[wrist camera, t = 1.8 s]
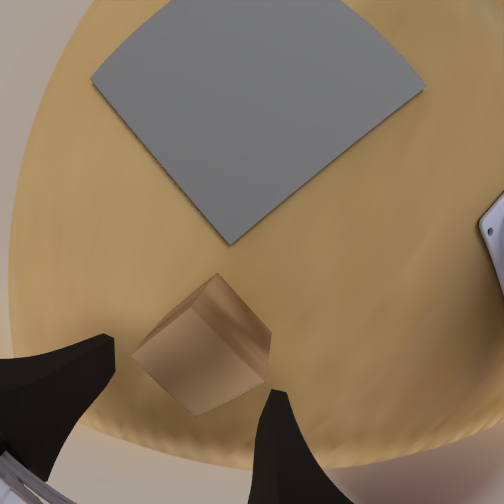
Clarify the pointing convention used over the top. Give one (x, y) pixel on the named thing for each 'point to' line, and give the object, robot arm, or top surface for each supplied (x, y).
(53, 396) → the robot arm
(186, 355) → the oak cube
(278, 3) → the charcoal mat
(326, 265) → the top surface
